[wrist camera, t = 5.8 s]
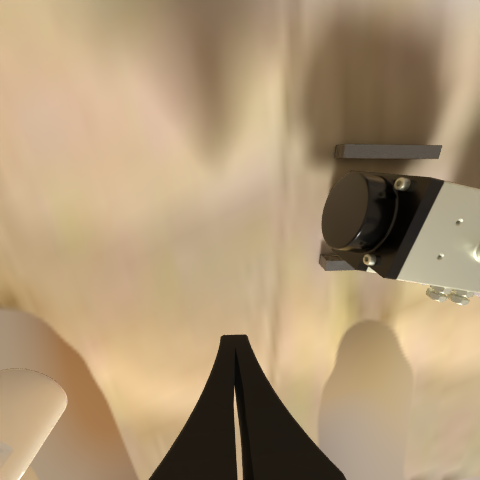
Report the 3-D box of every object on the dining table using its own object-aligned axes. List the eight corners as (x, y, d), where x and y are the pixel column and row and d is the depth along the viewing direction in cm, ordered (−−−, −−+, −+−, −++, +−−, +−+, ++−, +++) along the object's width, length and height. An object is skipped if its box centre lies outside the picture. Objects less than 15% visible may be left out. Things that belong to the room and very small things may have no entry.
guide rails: (426, 146, 19) (442, 145, 18) (394, 262, 23) (405, 268, 21) (336, 145, 18) (345, 144, 17) (319, 263, 22) (325, 270, 21)
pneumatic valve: (305, 164, 19) (424, 171, 8) (424, 191, 20) (670, 229, 9) (288, 225, 21) (364, 304, 9) (398, 245, 22) (578, 334, 11)
